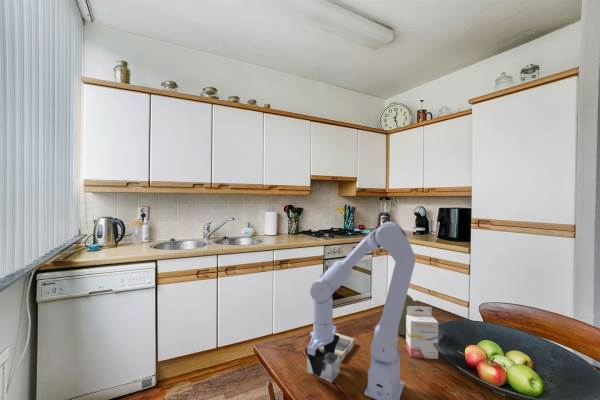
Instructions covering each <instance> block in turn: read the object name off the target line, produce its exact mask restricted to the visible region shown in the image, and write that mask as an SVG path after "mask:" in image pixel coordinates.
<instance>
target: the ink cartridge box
mask: <svg viewBox="0 0 600 400" xmlns="http://www.w3.org/2000/svg"><path fill="white" fill-rule="evenodd" d="M415 310H418V311H415ZM419 310H422V311H419ZM432 310H433V308H432V306H421V305H419V306H418V305H416V306H407V315H406V335H405V349H406V351H407V353H408V355H409V356H410V358H417V359H418V358H419V359H420V358H421V359H435V360H438V359H439V349H438V350H437V349H436V348H435V346H434V345H433V343H438V344H439V321H437V320H436V318H435V317H434V316H432V313H433V311H432Z"/></svg>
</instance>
